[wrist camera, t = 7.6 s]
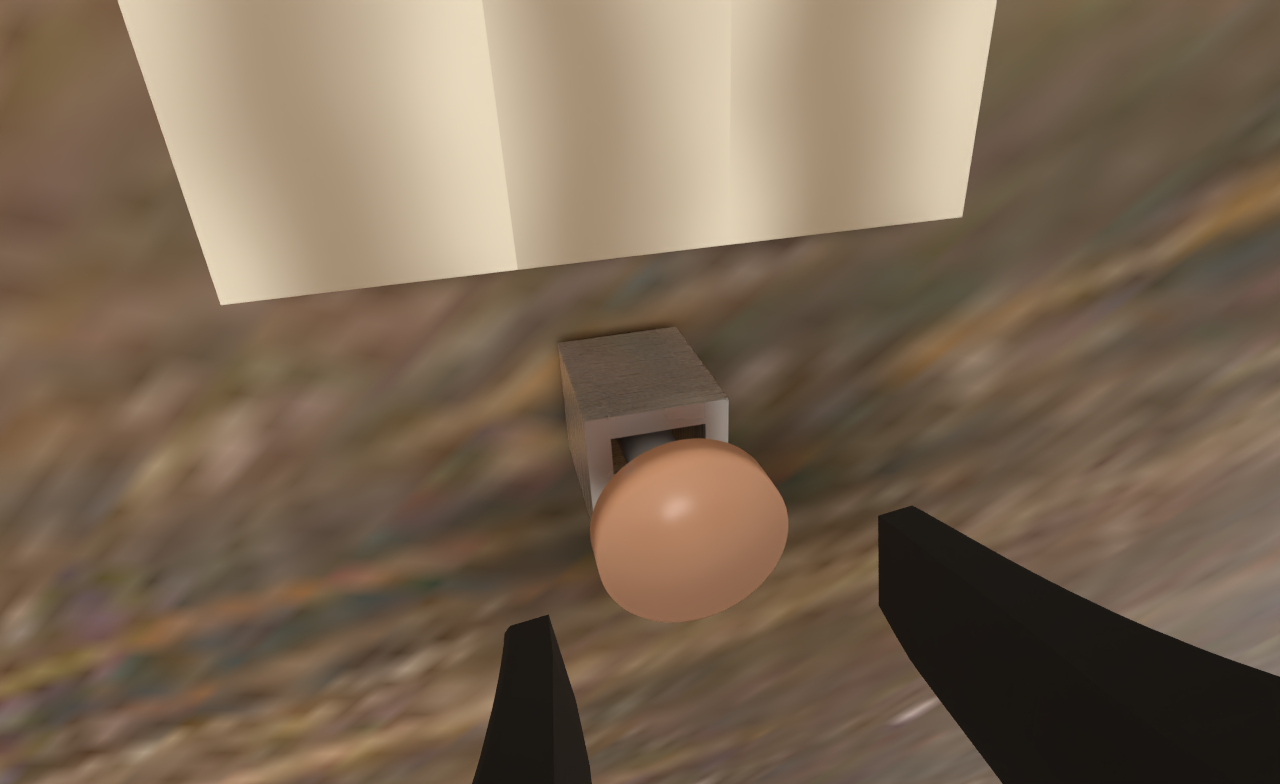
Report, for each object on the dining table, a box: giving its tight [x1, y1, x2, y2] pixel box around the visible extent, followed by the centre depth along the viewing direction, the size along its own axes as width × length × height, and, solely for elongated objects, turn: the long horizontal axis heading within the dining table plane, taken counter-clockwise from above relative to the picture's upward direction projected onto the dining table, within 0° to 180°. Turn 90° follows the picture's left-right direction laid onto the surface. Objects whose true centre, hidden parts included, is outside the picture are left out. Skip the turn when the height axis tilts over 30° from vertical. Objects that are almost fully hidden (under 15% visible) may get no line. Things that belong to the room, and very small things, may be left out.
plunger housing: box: [558, 327, 729, 522], centre depth 17 cm, size 3×3×4 cm
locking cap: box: [590, 429, 788, 622], centre depth 15 cm, size 4×4×4 cm
